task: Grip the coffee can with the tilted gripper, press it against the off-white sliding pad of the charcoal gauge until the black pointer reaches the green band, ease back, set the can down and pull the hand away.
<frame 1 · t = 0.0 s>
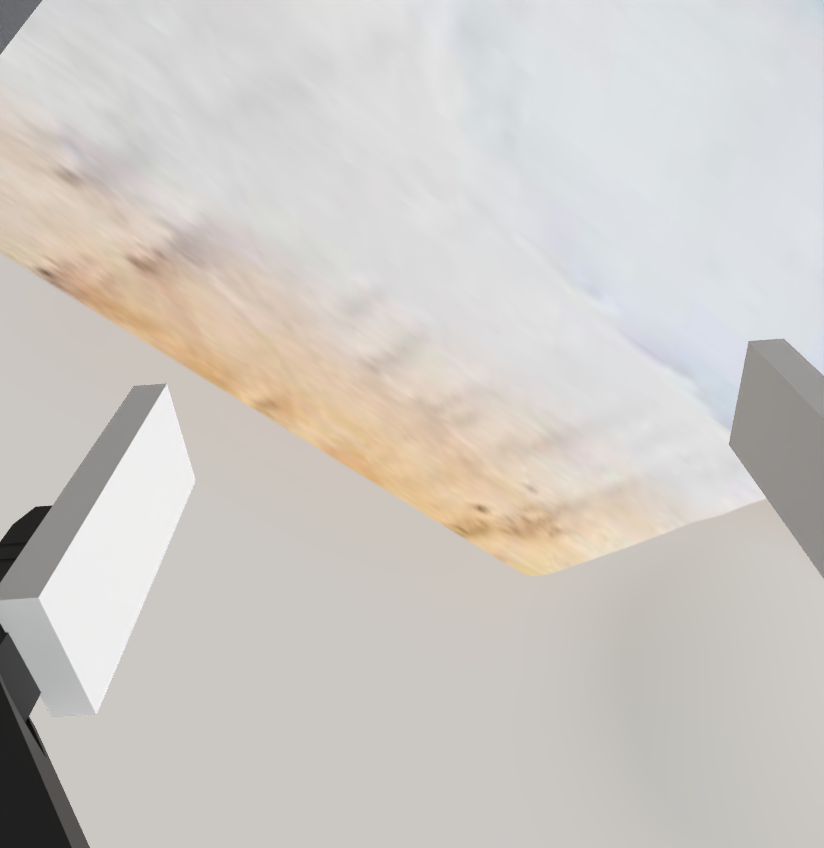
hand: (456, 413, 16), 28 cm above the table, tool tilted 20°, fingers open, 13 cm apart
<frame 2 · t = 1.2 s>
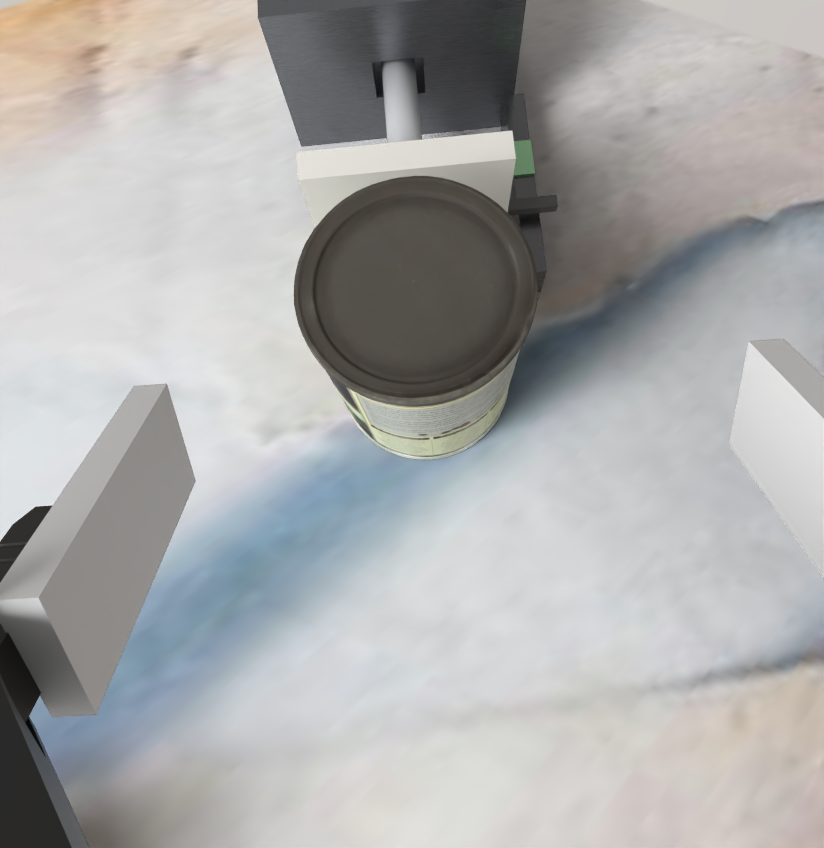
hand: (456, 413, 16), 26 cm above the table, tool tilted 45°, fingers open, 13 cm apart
coffee can: (425, 380, 43), on the table
pressure pad: (429, 127, 41), point 5 cm above the table, slide at 0.0 cm
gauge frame: (408, 175, 46), on the table
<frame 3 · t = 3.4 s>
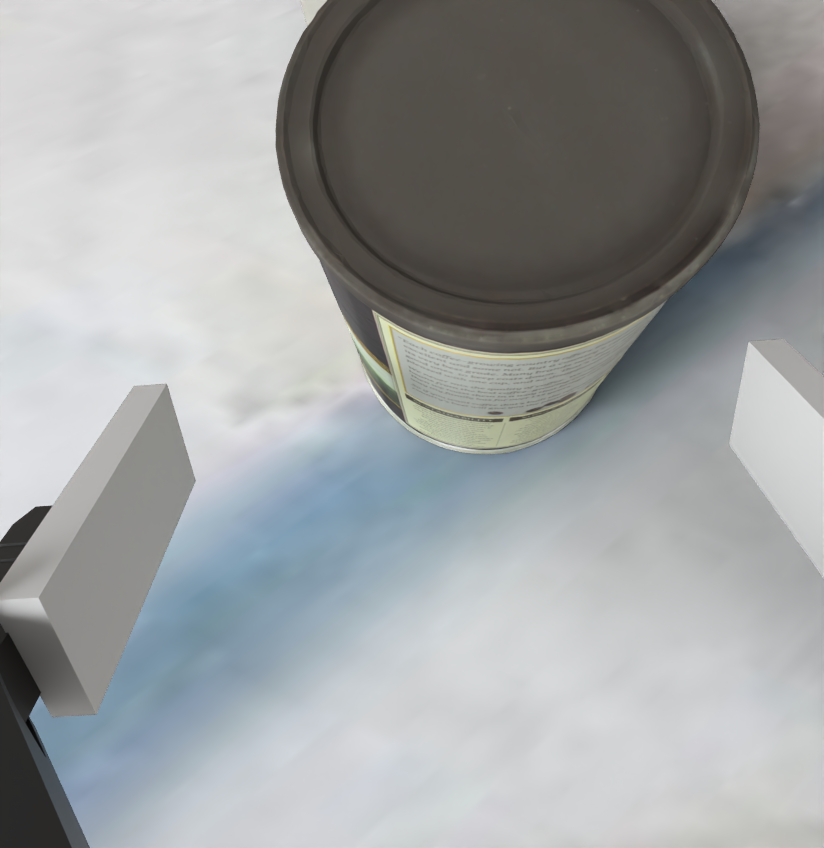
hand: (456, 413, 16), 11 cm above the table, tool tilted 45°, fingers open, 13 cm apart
coffee can: (482, 335, 29), on the table
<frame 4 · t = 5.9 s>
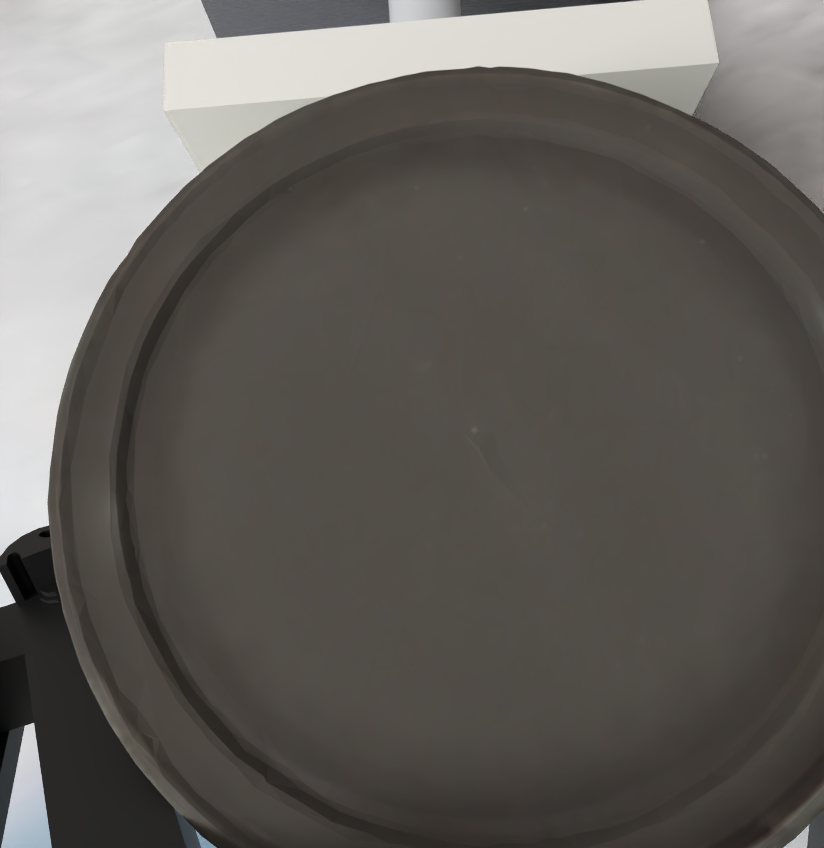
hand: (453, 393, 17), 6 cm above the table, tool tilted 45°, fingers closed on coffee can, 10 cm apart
coffee can: (459, 535, 22), on the table, touching gripper
pressure pad: (480, 23, 19), point 5 cm above the table, slide at 0.0 cm
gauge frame: (429, 136, 25), on the table
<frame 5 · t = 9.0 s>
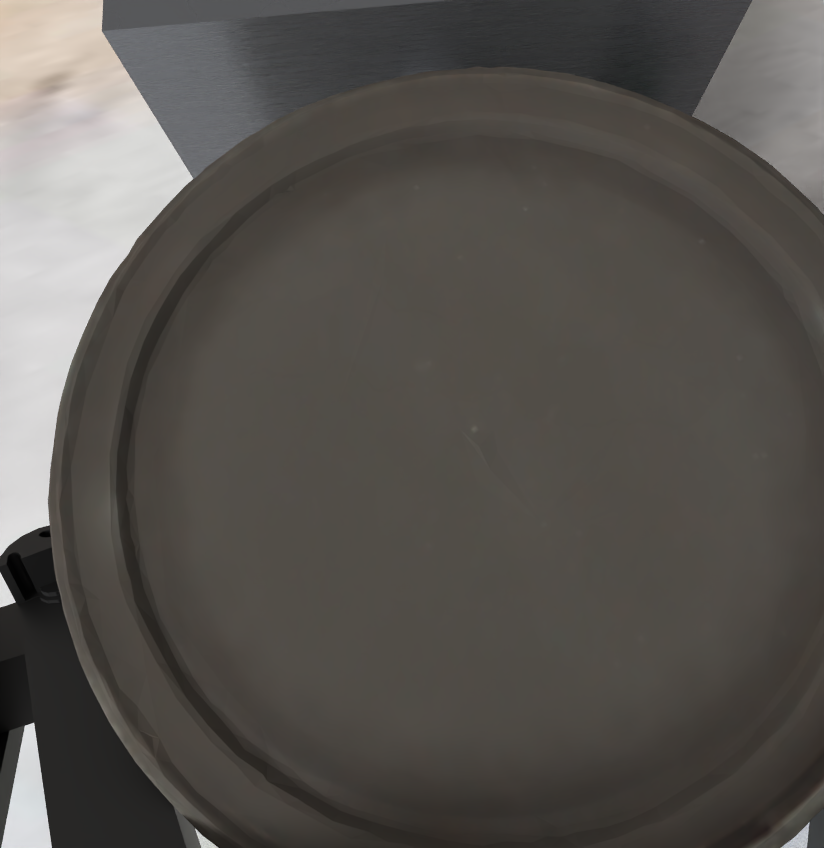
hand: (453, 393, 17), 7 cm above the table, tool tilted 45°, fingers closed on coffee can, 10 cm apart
coffee can: (459, 535, 22), point 1 cm above the table, touching gripper, pressure pad
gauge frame: (442, 324, 25), on the table
when the fingers open (6 cm above the table, at t = 10.9 s): coffee can stays where it is, on the table.
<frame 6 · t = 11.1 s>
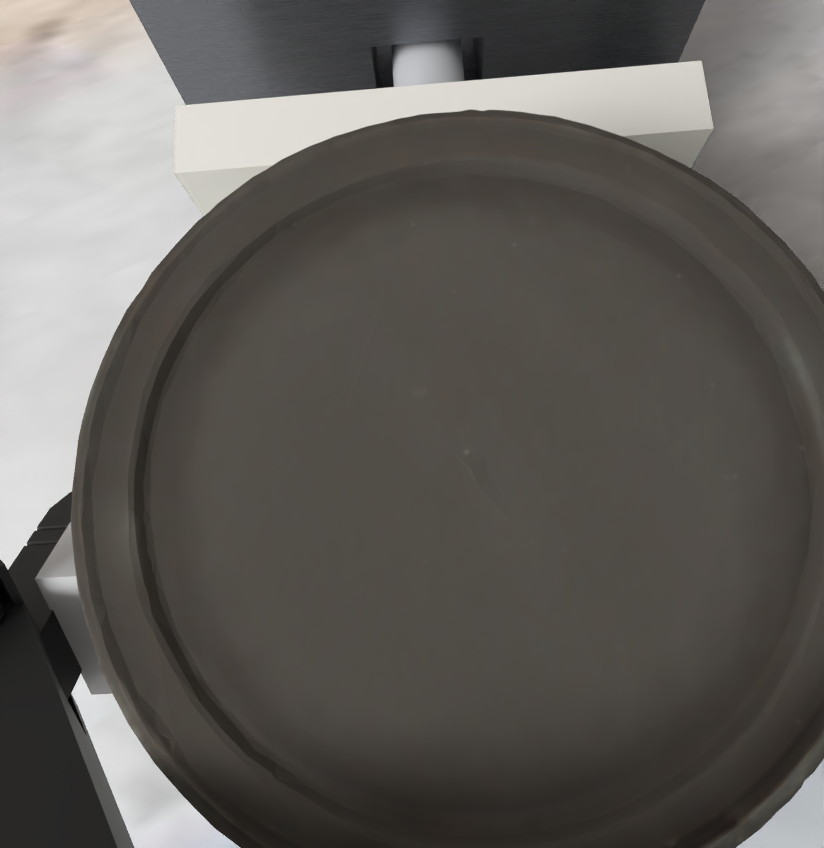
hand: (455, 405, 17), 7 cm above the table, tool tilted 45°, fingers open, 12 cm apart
coffee can: (457, 540, 23), on the table
pressure pad: (481, 70, 20), point 6 cm above the table, slide at 3.7 cm
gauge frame: (438, 265, 25), on the table
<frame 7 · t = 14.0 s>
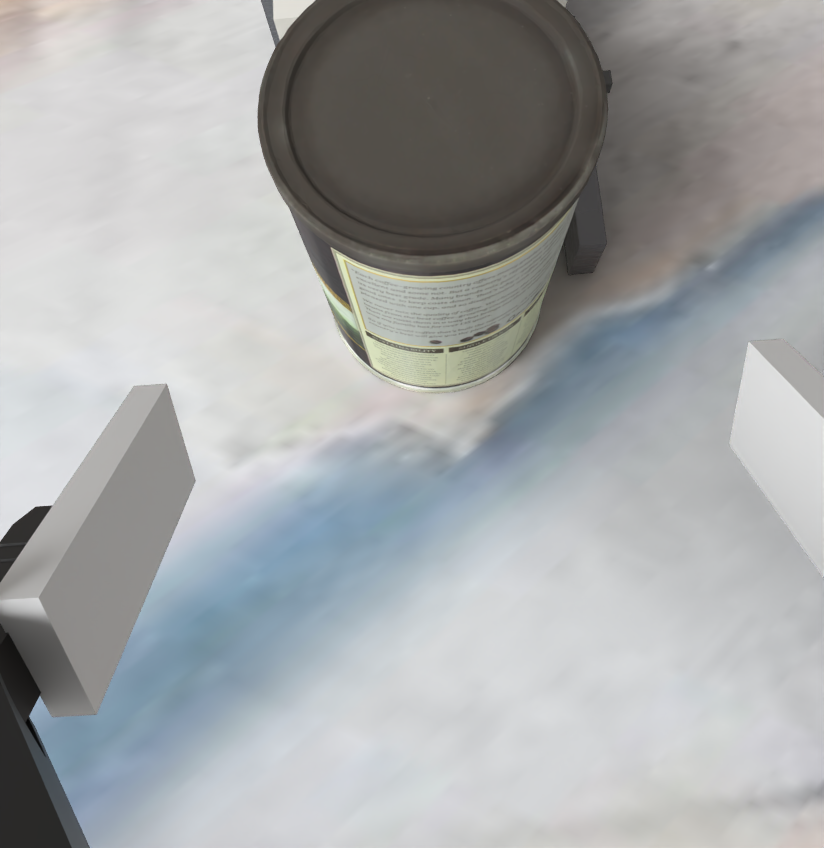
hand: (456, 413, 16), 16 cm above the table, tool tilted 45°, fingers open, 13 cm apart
coffee can: (436, 296, 35), on the table
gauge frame: (423, 124, 36), on the table
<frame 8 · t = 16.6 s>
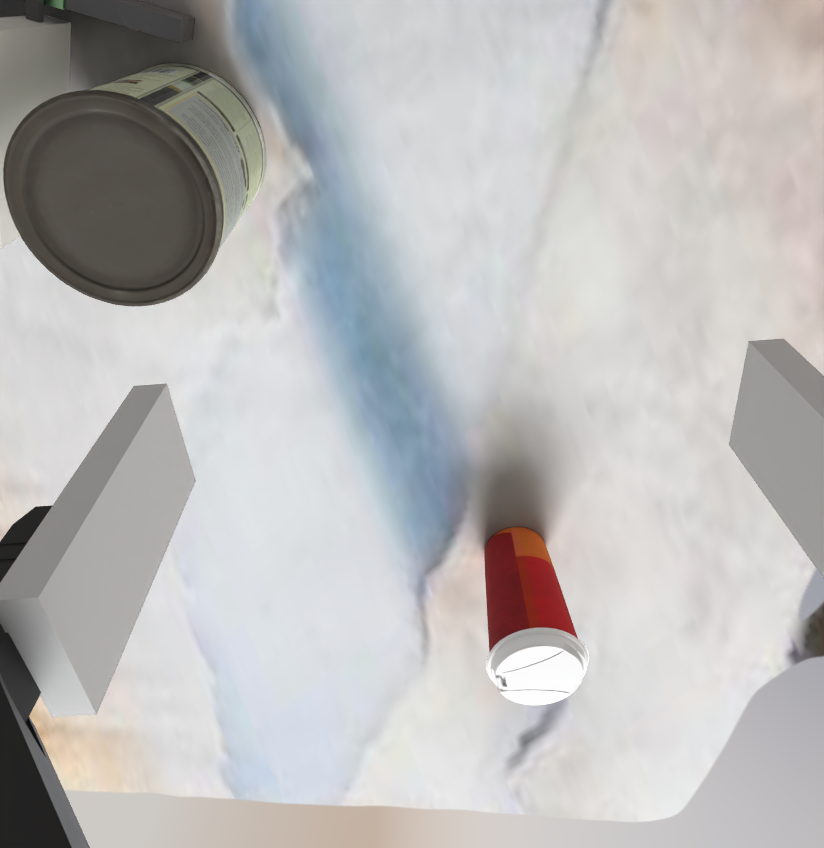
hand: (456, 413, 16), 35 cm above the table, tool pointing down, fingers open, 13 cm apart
coffee can: (189, 149, 46), on the table
paper cup: (515, 548, 65), on the table
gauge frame: (37, 107, 45), on the table
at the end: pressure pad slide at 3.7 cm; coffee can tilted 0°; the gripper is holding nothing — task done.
